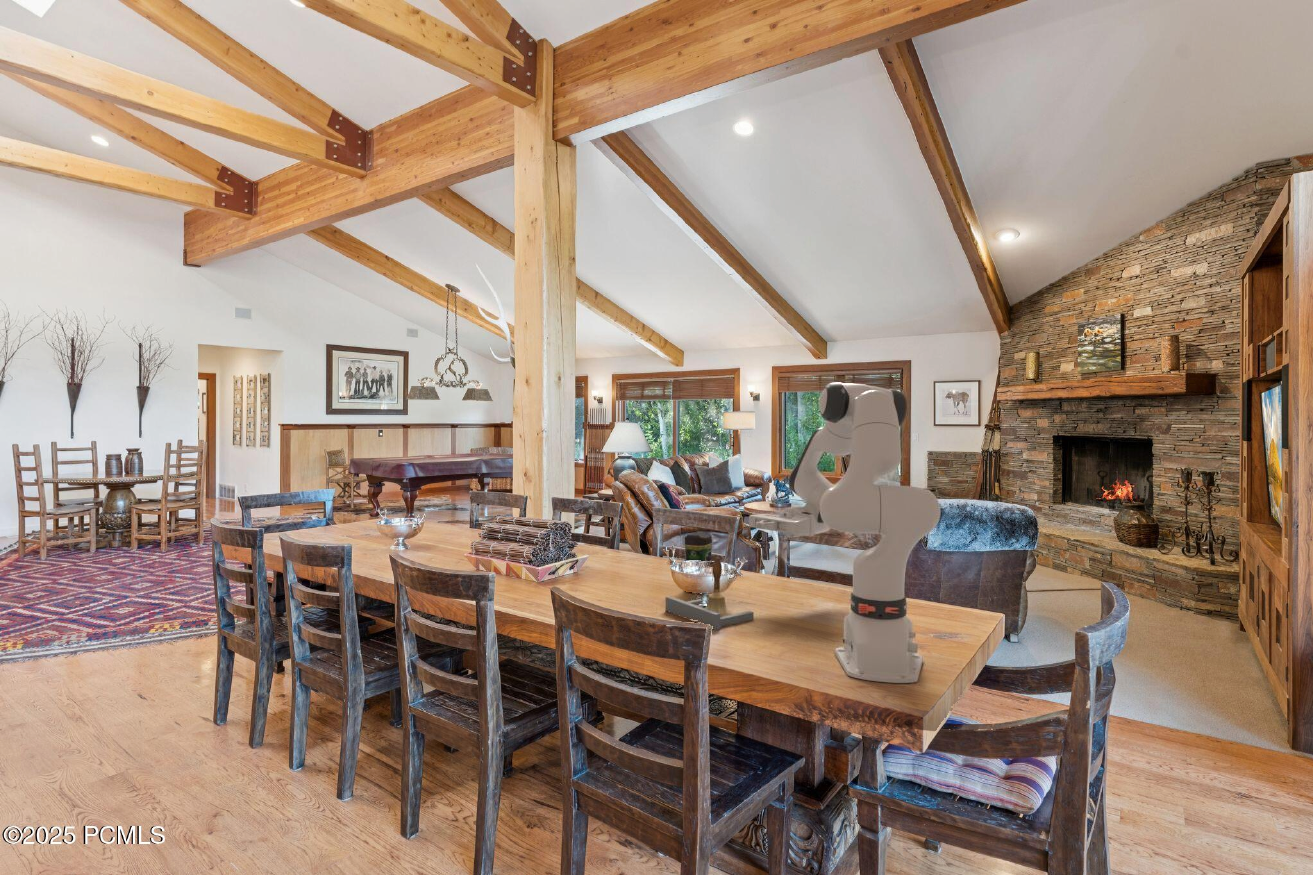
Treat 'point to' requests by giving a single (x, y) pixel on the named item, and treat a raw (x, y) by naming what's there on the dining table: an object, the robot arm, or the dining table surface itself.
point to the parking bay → (704, 613)
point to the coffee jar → (698, 546)
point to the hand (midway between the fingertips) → (759, 525)
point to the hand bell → (717, 592)
